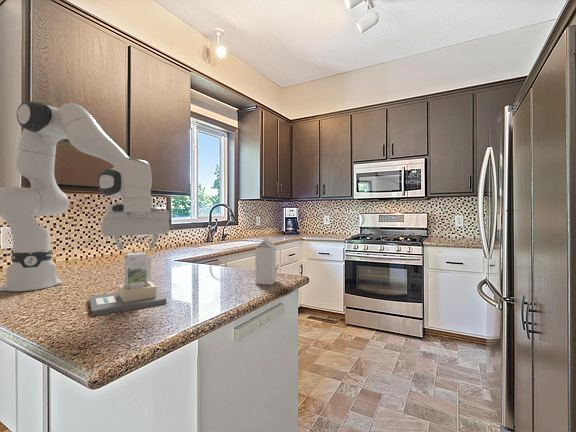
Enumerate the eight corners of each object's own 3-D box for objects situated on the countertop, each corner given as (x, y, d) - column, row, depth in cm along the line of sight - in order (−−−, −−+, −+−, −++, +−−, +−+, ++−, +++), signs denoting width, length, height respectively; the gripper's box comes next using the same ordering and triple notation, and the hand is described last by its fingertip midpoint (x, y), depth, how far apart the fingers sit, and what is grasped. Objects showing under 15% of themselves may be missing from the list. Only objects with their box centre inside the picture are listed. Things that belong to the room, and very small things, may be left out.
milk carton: (255, 284, 120) (255, 238, 120) (259, 280, 128) (259, 236, 127) (272, 285, 119) (272, 238, 119) (275, 281, 126) (275, 237, 126)
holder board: (89, 300, 98) (88, 285, 98) (153, 291, 109) (153, 278, 109) (92, 316, 83) (92, 298, 83) (166, 303, 95) (166, 288, 95)
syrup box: (143, 292, 102) (143, 251, 102) (146, 296, 97) (146, 253, 97) (124, 295, 99) (124, 252, 98) (127, 299, 94) (127, 254, 94)
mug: (155, 287, 116) (155, 256, 116) (143, 291, 109) (143, 259, 109) (132, 286, 118) (132, 256, 118) (120, 290, 111) (119, 258, 111)
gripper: (167, 207, 107) (166, 245, 107) (100, 206, 94) (100, 249, 95) (172, 207, 101) (171, 247, 102) (102, 206, 89) (101, 251, 89)
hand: (136, 248), depth 98 cm, fingers open, 8 cm apart
